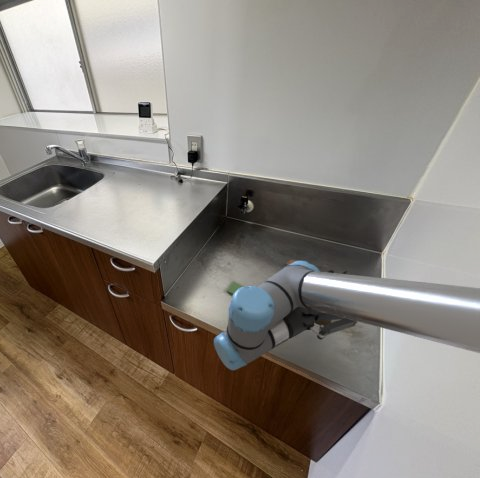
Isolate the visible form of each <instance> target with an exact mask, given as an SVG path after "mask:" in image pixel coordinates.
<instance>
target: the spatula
mask: <svg viewBox="0 0 480 478" xmlns="http://www.w3.org/2000/svg"><path fill="white" fill-rule="evenodd" d="M241 287H245V286H244V285H241V284H239V283H238V282H235V281H233V282H232V283H231V284H230V286H228V288H227V290H226V292H227V293H228V294H230V295H232V296H233V294H234V293H235V292H236V291H237V290H238V289H239V288H241Z"/></svg>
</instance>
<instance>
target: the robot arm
mask: <svg viewBox="0 0 480 478" xmlns="http://www.w3.org/2000/svg"><path fill="white" fill-rule="evenodd" d="M227 320H228V321H227V326H226V330H225V331H222V332H220V334H218V335H216V336H215V337H214V338H213V347H214V349H215V351H216V353H217V356H218V357H219V359H220V361H221V363H223V365H224V366H225V367H226V368H227V369H229V370H230V371H236V370H239V369H241V368H244V367H246V366H248V364H249V363H251V362H253V361H255V360H257V359H259V358H261V357H262V356H263V355H265V354H266V353H269V352H270V351H271V350H273V349H275V348H276V347H278V346H280V345H282V344H284V343H286V342H288V341H289V340H290V339H292V338H294V337H296V336H298V335H300V334H301V333H303V332H304V331H312V332H313V333H314V334H316V338H317V339H318V340H321V341H322V340H324V338H326V336H328V335H331V334H334V333H337V332H340V331H343V330H347V329H350V328H353V327H355V326H356V325H357V323H361V324H366V325H369V326H373V327H377V328H380V329H385V330H388V331H393V332H397V333H400V334H404V335H408V336H411V337H416V338H420V339H424V340H426V341H431V342H435V343H438V344H442V345H446V346H451V347H455V348H458V349H462V350H465V351H470V352H473V353H477V354H480V287H475V286H465V285H455V284H446V283H445V284H444V283H436V282H435V283H434V282H427V281H426V282H425V281H424V282H423V281H415V280H406V279H396V278H386V277H377V276H368V275H367V276H366V275H357V274H347V273H346V274H342V273H336V272H335V271H334V270H333V269H331V270H328V271H320V269H319V268H318V267H316V265H314V264H311V263H309V262H308V261H306V260H297V261H295V262H293V263H291V264H290V265H287V264H286V266H283V267H282V268H281V269H280V270H279V271H278V272H276V273H275V274H273V275H272V276H270V277H269V278H268V279H266V280H265V281H263V282H262V283H260V284H259V285H256V286H255V285H249V286H244V287H241V288H239V289H238V290H237V291H236V292H235V293H234V294H233V295H232V296H231V300H230V303H229V306H228V319H227ZM323 320H331V323H329V324H326V325H325V326H323V325H316V323H315V322H319V321H323Z"/></svg>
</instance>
